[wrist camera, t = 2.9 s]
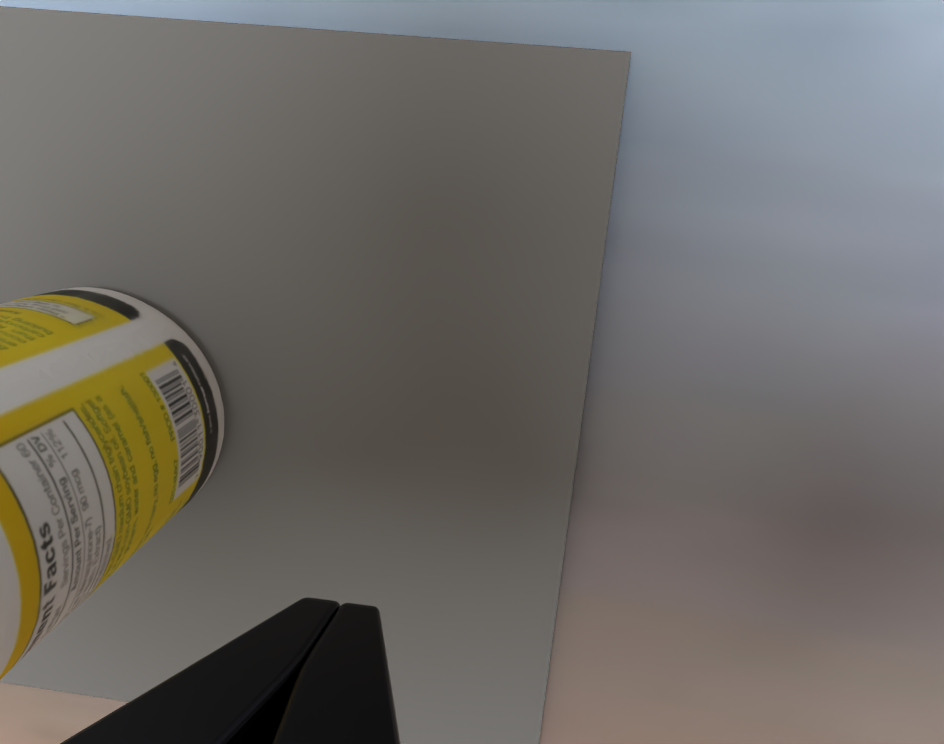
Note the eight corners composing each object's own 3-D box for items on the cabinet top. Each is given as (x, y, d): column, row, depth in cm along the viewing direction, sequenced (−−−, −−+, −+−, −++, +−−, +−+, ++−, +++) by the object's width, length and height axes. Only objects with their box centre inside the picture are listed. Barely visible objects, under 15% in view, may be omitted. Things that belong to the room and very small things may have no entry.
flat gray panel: (629, 54, 12) (630, 52, 11) (536, 757, 15) (536, 764, 15) (-471, -27, 13) (-485, -29, 13) (-305, 629, 17) (-315, 634, 17)
